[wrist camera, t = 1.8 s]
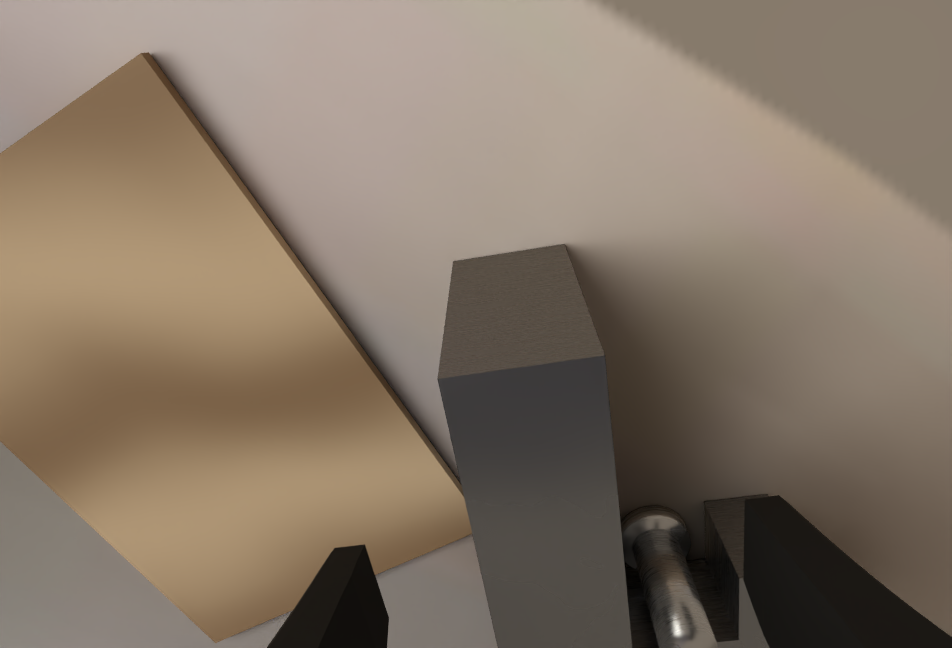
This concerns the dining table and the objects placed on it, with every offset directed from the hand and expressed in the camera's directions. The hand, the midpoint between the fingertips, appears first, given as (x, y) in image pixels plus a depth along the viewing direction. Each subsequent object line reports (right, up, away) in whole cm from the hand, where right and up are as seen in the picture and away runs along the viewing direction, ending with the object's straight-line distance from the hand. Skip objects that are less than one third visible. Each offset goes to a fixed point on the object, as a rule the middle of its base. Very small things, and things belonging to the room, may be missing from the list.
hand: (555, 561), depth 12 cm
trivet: (-8, +3, +3) cm, 9 cm away
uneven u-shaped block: (+2, +1, +4) cm, 4 cm away
